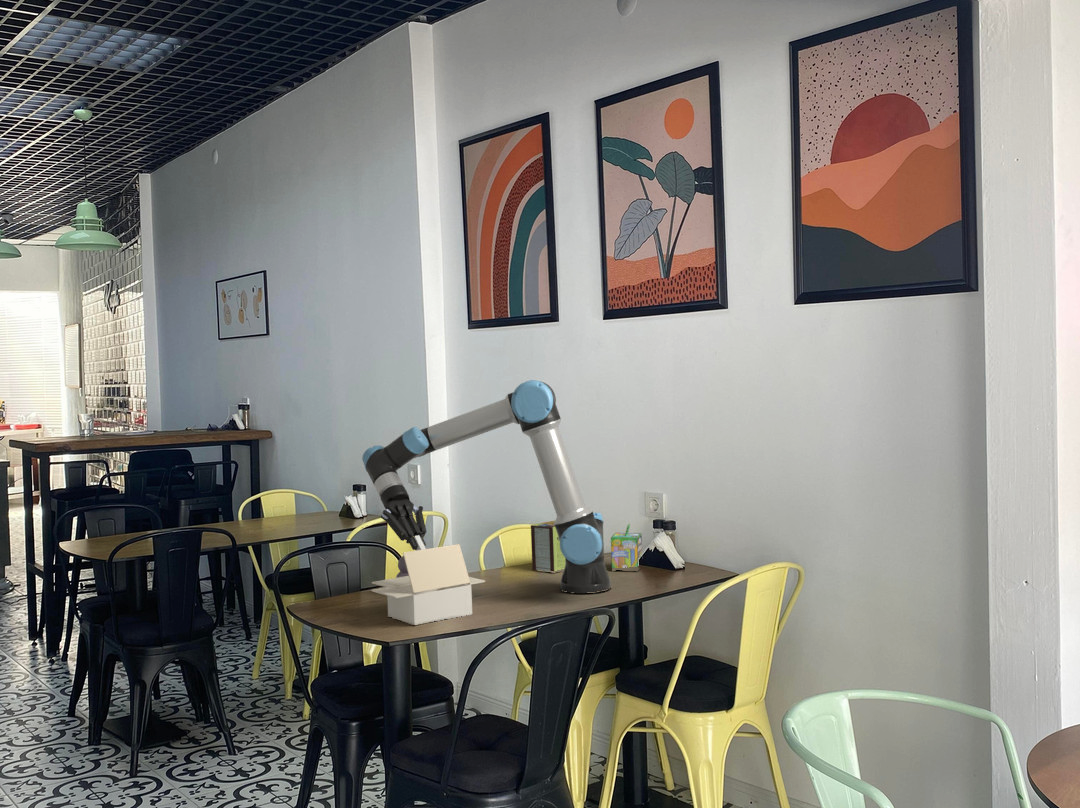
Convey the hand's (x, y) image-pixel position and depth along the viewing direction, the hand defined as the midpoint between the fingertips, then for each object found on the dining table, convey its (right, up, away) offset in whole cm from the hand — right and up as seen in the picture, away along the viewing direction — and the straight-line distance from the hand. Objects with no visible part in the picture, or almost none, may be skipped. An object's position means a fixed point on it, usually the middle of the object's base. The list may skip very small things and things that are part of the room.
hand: (424, 557), depth 262 cm
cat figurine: (-8, -16, +29) cm, 34 cm away
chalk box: (+60, -13, +56) cm, 83 cm away
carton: (-1, -16, +3) cm, 16 cm away
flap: (+4, -2, -4) cm, 6 cm away
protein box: (+38, -14, +62) cm, 74 cm away
